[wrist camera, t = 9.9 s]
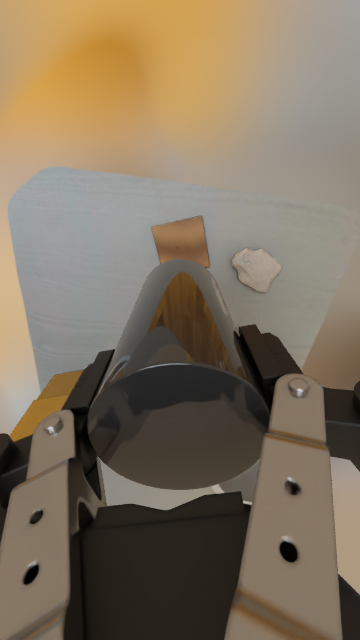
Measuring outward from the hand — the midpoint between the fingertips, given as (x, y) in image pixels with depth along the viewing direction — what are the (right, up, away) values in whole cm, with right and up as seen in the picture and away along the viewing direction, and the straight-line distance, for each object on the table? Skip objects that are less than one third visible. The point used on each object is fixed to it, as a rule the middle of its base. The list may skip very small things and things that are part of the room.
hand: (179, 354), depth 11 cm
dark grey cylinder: (0, +3, +7) cm, 8 cm away
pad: (0, +13, +26) cm, 29 cm away
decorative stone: (+12, +10, +27) cm, 32 cm away
